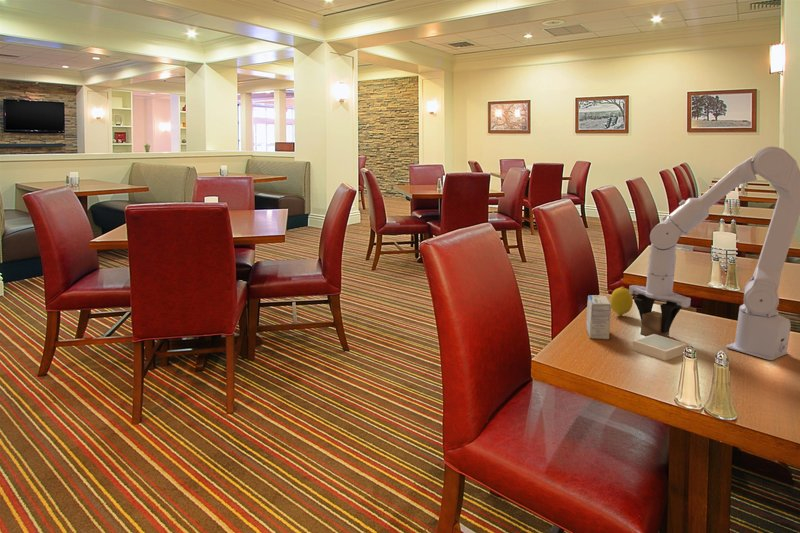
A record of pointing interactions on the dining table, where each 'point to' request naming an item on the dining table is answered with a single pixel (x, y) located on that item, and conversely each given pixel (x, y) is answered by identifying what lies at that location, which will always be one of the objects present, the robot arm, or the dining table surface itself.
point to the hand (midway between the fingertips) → (655, 329)
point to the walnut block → (652, 324)
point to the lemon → (621, 301)
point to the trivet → (659, 346)
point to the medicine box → (598, 317)
